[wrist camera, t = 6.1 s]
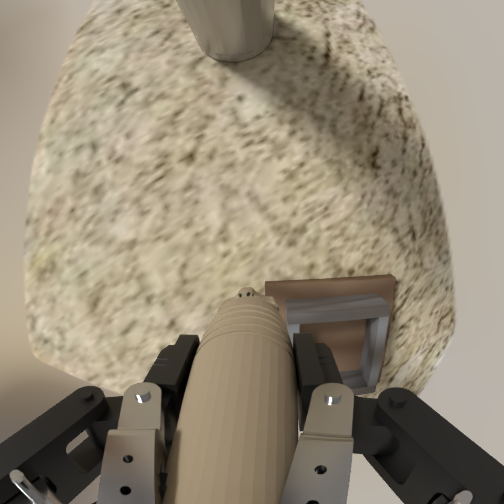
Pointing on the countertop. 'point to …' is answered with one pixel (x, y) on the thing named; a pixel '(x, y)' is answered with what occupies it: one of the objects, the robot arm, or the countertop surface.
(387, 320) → the socket block
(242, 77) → the countertop surface
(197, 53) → the countertop surface
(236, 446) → the handle
